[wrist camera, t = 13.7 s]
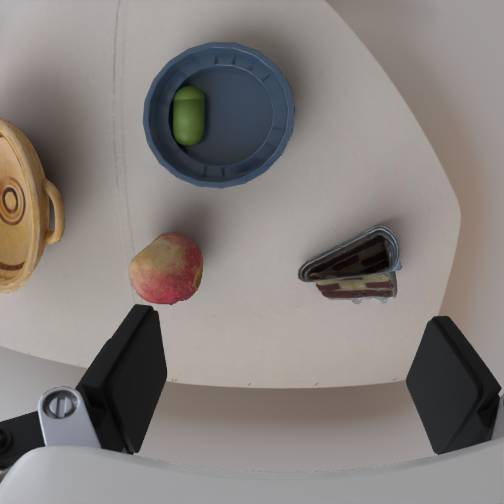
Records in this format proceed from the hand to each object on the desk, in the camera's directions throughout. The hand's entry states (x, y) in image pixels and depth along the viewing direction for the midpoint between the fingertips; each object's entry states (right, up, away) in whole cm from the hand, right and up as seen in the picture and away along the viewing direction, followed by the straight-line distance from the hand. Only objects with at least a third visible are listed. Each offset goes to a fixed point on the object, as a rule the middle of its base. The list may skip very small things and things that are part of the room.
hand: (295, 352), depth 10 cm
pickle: (-7, +17, +19) cm, 26 cm away
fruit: (-10, +3, +27) cm, 30 cm away
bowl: (-4, +18, +21) cm, 28 cm away
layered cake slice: (+11, +1, +27) cm, 29 cm away
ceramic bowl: (-36, +12, +25) cm, 45 cm away
